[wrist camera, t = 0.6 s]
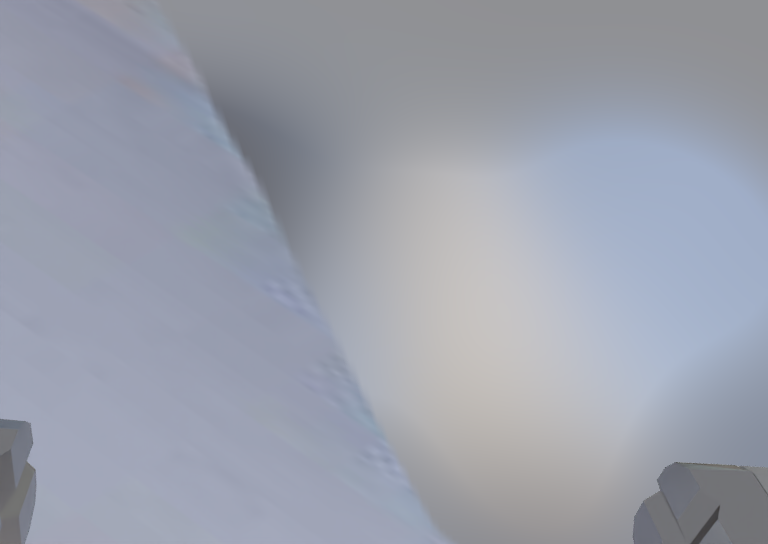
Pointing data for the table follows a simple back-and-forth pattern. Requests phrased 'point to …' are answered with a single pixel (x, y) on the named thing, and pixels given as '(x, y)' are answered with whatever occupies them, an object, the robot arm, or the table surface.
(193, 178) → the table surface
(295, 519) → the table surface
